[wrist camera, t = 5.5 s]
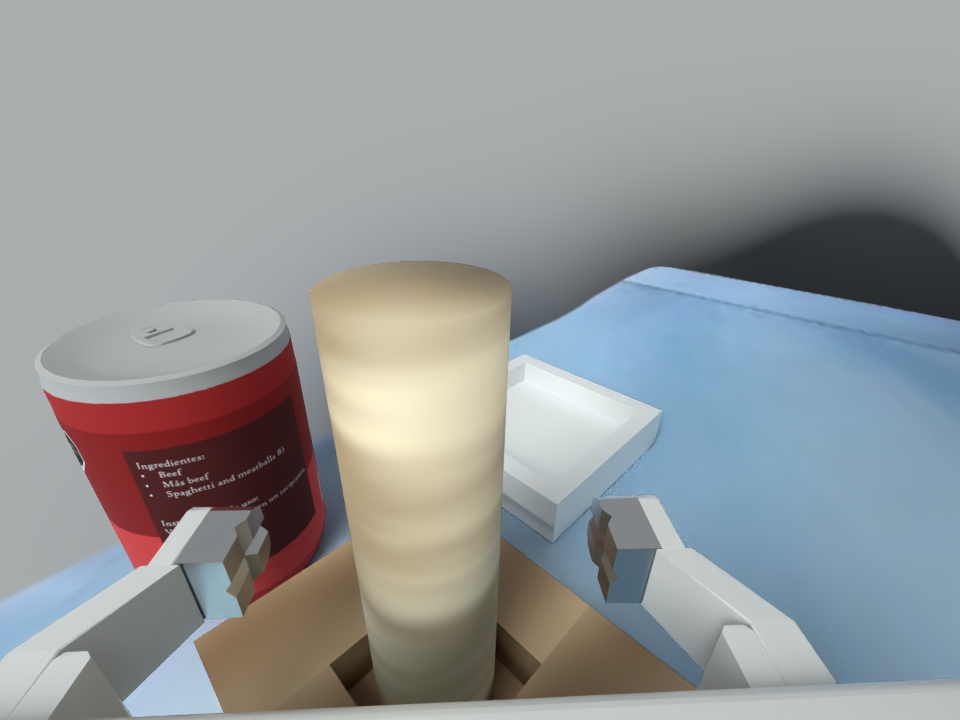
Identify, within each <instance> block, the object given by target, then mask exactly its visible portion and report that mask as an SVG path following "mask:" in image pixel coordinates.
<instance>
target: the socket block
mask: <svg viewBox="0 0 960 720" xmlns="http://www.w3.org/2000/svg"><path fill="white" fill-rule="evenodd" d="M193 642H194V644H195V646H196V649H197V651H198V653H199V656H200V658H201V660H202V663H203V665H204V667H205V670H206V672H207V674H208V677H209V679H210V681H211V684H212V686H213V688H214V691H215V693H216V695H217V698H218V700H219V702H220V705H221V707H222V709H223V712H224V713H233V712H254V711H276V710H297V709H318V708H339V707H359V706H380V704H379V698H378V692H377V687H376V681H375V675H374V669H373V663H372V658H371V652H370V646H369V640H368V634H367V629H366V623H365V617H364V611H363V605H362V600H361V594H360V588H359V582H358V576H357V570H356V565H355V559H354V553H353V547H352V541H351V539H350V540H349V541H347V542H346V543H344V544H343V545H341V546H340V547H338V548H337V549H335V550H333V551H332V552H330V553H329V554H327V555H326V556H324V557H323V558H321V559H320V560H318V561H316V562H315V563H313V564H312V565H310V566H309V567H307V568H306V569H304V570H303V571H301V572H300V573H298V574H296V575H295V576H293V577H292V578H290V579H289V580H287V581H286V582H284V583H283V584H281V585H280V586H278V587H276V588H275V589H273V590H272V591H270V592H269V593H267V594H266V595H264V596H263V597H261V598H260V599H258V600H256V601H255V602H253V603H252V604H250V605H249V606H248V608H247V610H246V612H245V614H244V617H235V618H229V619H227V620H226V621H224V622H223V623H221V624H219V625H218V626H216V627H215V628H213V629H212V630H210V631H209V632H207V633H206V634H204V635H203V636H201V637H199V638H198V639H196V640H195V641H193ZM696 690H697V688H696V687H695V686H693V685H692V684H691V683H690V682H688V681H687V680H686V679H684V678H683V677H682V676H680V675H679V674H678V673H677V672H675V671H674V670H673V669H671V668H670V667H669V666H668V665H666V664H665V663H664V662H662V661H661V660H660V659H658V658H657V657H656V656H655V655H653V654H652V653H651V652H649V651H648V650H647V649H646V648H644V647H643V646H642V645H640V644H639V643H638V642H636V641H635V640H634V639H633V638H631V637H630V636H629V635H627V634H626V633H625V632H624V631H622V630H621V629H620V628H618V627H617V626H616V625H614V624H613V623H612V622H611V621H609V620H608V619H607V618H605V617H604V616H603V615H602V614H600V613H599V612H598V611H596V610H595V609H594V608H592V607H591V606H590V605H589V604H587V603H586V602H585V601H583V600H582V599H581V598H580V597H578V596H577V595H576V594H574V593H573V592H572V591H570V590H569V589H568V588H567V587H565V586H564V585H563V584H561V583H560V582H559V581H558V580H556V579H555V578H554V577H552V576H551V575H550V574H549V573H547V572H546V571H545V570H543V569H542V568H541V567H539V566H538V565H537V564H536V563H534V562H533V561H532V560H530V559H529V558H528V557H527V556H525V555H524V554H523V553H521V552H520V551H519V550H517V549H516V548H515V547H514V546H512V545H511V544H510V543H508V542H507V541H506V540H505V539H503V538H502V537H500V559H499V581H498V603H497V625H496V647H495V669H494V691H493V700H506V699H527V698H548V697H569V696H590V695H611V694H632V693H654V692H675V691H696Z"/></svg>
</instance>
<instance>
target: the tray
mask: <svg viewBox="0 0 960 720" xmlns="http://www.w3.org/2000/svg"><path fill="white" fill-rule="evenodd" d="M661 414H662V410H659V409H657V408H654V407H652V406H649V405H647V404H645V403H642V402H640V401H637V400H635V399H632V398H630V397H627V396H625V395H622V394H620V393H618V392H615V391H613V390H610V389H608V388H605V387H603V386H600V385H598V384H596V383H593V382H591V381H588V380H586V379H583V378H581V377H578V376H576V375H573V374H571V373H569V372H566V371H564V370H561V369H559V368H556V367H554V366H551V365H549V364H547V363H544V362H542V361H539V360H537V359H534V358H532V357H529V356H527V355H524V354H523V355H521V356H519V357H517V358H515V359H513V360H511V361H509V362H508V382H507V404H506V427H505V449H504V471H503V493H502V507H503V508H504V509H506V510H507V511H508V512H510V513H511V514H513V515H514V516H515V517H517V518H518V519H520V520H521V521H522V522H524V523H525V524H527V525H528V526H529V527H531V528H532V529H534V530H535V531H536V532H538V533H539V534H541V535H542V536H543V537H545V538H546V539H547V540H549V541H550V542H552V543H553V542H554V541H555V540H556V539H557V538H558V537H559V536H560V535H561V534H562V533H563V532H564V531H565V530H566V529H568V528H569V527H570V526H571V525H572V524H573V523H574V522H575V521H576V520H577V519H578V518H579V517H580V516H581V515H582V514H583V513H584V512H585V511H586V510H587V509H588V508H589V507H590V506H591V505H592V501H593V499H594V497H600V496H601V495H602V494H603V493H604V492H605V491H606V490H607V489H608V488H609V487H610V486H611V485H612V484H613V483H615V482H616V481H617V480H618V479H619V478H620V477H621V476H622V475H623V474H624V473H625V472H626V471H627V470H628V469H629V468H630V467H631V466H632V465H633V464H634V463H635V462H636V461H637V460H638V459H639V458H640V457H641V456H642V455H643V454H644V453H645V452H646V451H647V450H648V449H649V448H650V447H651V446H652V445H653V444H654V443H655V439H656V435H657V431H658V426H659V422H660V418H661Z"/></svg>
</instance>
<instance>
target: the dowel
mask: <svg viewBox="0 0 960 720" xmlns="http://www.w3.org/2000/svg"><path fill="white" fill-rule="evenodd" d="M511 294H512V287H511V284H510V282H509V281H508V280H507V279H506V278H504V277H503V276H501V275H499V274H497V273H495V272H493V271H490V270H487V269H484V268H480V267H476V266H472V265H466V264H459V263H451V262H438V261H402V262H389V263H380V264H373V265H367V266H362V267H357V268H353V269H349V270H345V271H342V272H339V273H336V274H334V275H331V276H329V277H326V278H324V279H323V280H321V281H319V282H318V283H317V284H315V285H314V286H313V287H312V289H311V291H310V293H309V298H310V303H311V309H312V315H313V321H314V327H315V332H316V338H317V344H318V350H319V356H320V361H321V367H322V373H323V379H324V385H325V391H326V396H327V402H328V408H329V413H330V420H331V425H332V431H333V437H334V443H335V449H336V454H337V460H338V466H339V472H340V478H341V483H342V489H343V495H344V501H345V507H346V512H347V518H348V524H349V530H350V536H351V541H352V547H353V553H354V559H355V565H356V570H357V576H358V582H359V588H360V594H361V600H362V605H363V611H364V617H365V623H366V629H367V634H368V640H369V646H370V652H371V658H372V663H373V669H374V675H375V681H376V687H377V692H378V698H379V704H380V705H401V704H422V703H442V702H464V701H485V700H493V691H494V669H495V647H496V625H497V603H498V581H499V559H500V537H501V515H502V493H503V471H504V449H505V427H506V404H507V382H508V360H509V338H510V315H511Z"/></svg>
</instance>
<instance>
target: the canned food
mask: <svg viewBox="0 0 960 720" xmlns="http://www.w3.org/2000/svg"><path fill="white" fill-rule="evenodd" d="M34 366H35V368H36V370H37V372H38V375H39V381H40V384H41V386H42V388H43V390H44V392H45V394H46V396H47V398H48V400H49V402H50V404H51V406H52V408H53V411H54V413H55V416H56V418H57V420H58V422H59V424H60V426H61V427H62V429H63V431H64V433H65V435H66V437H67V439H68V441H69V443H70V445H71V447H72V449H73V451H74V453H75V454H76V456H77V458H78V460H79V462H80V464H81V466H82V468H83V470H84V472H85V474H86V476H87V478H88V479H89V481H90V483H91V485H92V487H93V489H94V491H95V493H96V495H97V497H98V499H99V501H100V502H101V505H102V506H103V508H104V510H105V512H106V514H107V516H108V518H109V520H110V522H111V524H112V526H113V528H114V529H115V531H116V533H117V535H118V537H119V539H120V541H121V543H122V545H123V547H124V549H125V551H126V553H127V555H128V556H129V558H130V560H131V562H132V564H133V566H134V568H135V569H137V568H138V567H140V566H147V565H148V564H149V563H150V561H151V560H152V559H153V557H154V556H155V554H156V553H157V552H158V550H159V549H160V548H161V546H162V545H163V543H164V542H165V541H166V539H167V538H168V537H169V535H170V534H171V533H172V531H173V530H174V528H175V527H176V526H177V524H178V523H179V522H180V520H181V519H182V517H183V516H184V515H185V513H186V512H187V511H188V510H190V509H192V508H193V507H259V508H261V510H262V513H263V516H264V519H263V521H262V523H261V526H262V527H263V528H264V529H266V530H267V531H268V533H269V536H270V546H271V549H270V554H269V559H268V563H267V565H266V567H265V570H264V572H263V573H262V574H261V575H260V576H258V577H257V578H256V579H255V580H254V581H253V583H254V586H255V589H256V590H255V592H254V594H253V597H252V599H251V601H250V603H249V605H250V604H252V603H253V602H255V601H256V600H258V599H260V598H261V597H263V596H264V595H266V594H267V593H269V592H270V591H272V590H273V589H275V588H276V587H278V586H280V585H281V584H283V583H284V582H286V581H287V580H289V579H290V578H292V577H293V576H295V575H296V574H298V573H300V572H301V571H302V570H303V569H304V568H305V567H306V565H307V564H308V563H309V562H310V561H311V559H312V557H313V556H314V554H315V552H316V550H317V549H318V546H319V543H320V540H321V537H322V533H323V528H324V524H325V507H324V502H323V497H322V492H321V487H320V481H319V476H318V471H317V466H316V461H315V456H314V451H313V446H312V440H311V435H310V430H309V425H308V420H307V415H306V410H305V404H304V400H303V395H302V389H301V384H300V379H299V374H298V369H297V363H296V359H295V355H294V351H293V346H292V342H291V337H290V333H289V329H288V327H287V325H286V321H285V317H284V316H283V315H282V314H281V313H280V312H279V311H278V310H276V309H274V308H272V307H269V306H266V305H263V304H259V303H254V302H247V301H240V300H227V299H224V300H223V299H210V300H191V301H182V302H173V303H167V304H160V305H153V306H149V307H144V308H139V309H135V310H130V311H126V312H123V313H118V314H115V315H111V316H108V317H105V318H102V319H99V320H96V321H93V322H91V323H88V324H85V325H83V326H80V327H78V328H76V329H74V330H72V331H70V332H68V333H66V334H64V335H62V336H60V337H59V338H57V339H56V340H54V341H53V342H51V343H50V344H48V345H47V346H45V347H44V348H43V349H42V351H41V352H40V353H39V354H38V355H37V356H36V360H35V363H34Z"/></svg>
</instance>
